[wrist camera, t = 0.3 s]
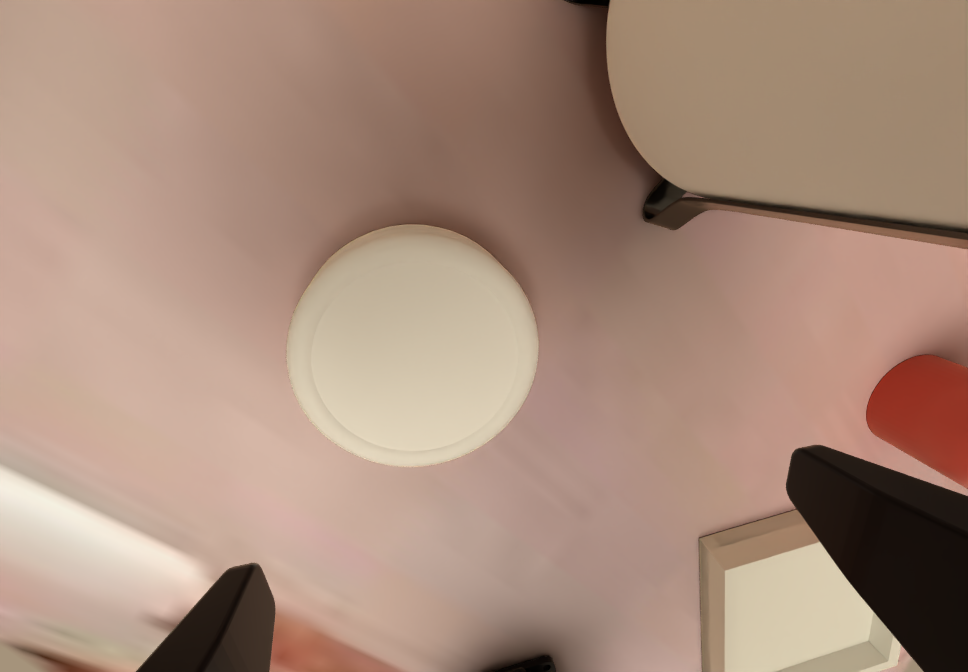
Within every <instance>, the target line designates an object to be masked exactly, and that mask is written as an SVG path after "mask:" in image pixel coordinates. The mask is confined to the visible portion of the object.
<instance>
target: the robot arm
mask: <svg viewBox="0 0 968 672" xmlns="http://www.w3.org/2000/svg"><path fill="white" fill-rule="evenodd" d="M786 490H787V494H788V496H789V498H790V500H791V502H792V503H793V504H794V506H795V507H796V509H797V510H798V512H799V513H800V514H801V516H802V517H803V519H804V520H805V521H806V523H807V524H808V526H809V527H810V529H811V530H812V531H813V533H814V534H815V536H816V537H817V538H818V540H819V541H820V543H821V544H822V546H823V547H824V548H825V550H826V551H827V553H828V554H829V555H830V557H831V558H832V560H833V561H834V563H835V564H836V565H837V567H838V568H839V569H840V571H841V572H842V574H843V575H844V576H845V578H846V579H847V580H848V582H849V583H850V584H851V585H852V587H853V588H854V589H855V590H856V592H857V593H858V594H859V595H860V596H861V598H862V599H863V600H864V601H865V602H866V604H867V605H868V606H869V607H870V608H871V610H872V611H873V612H874V613H875V614H876V615H877V617H878V618H879V619H880V620H881V621H882V623H883V624H884V625H885V626H886V627H887V629H888V630H889V631H890V632H891V633H892V635H893V636H894V637H895V638H896V639H897V640H898V642H899V643H900V644H901V645H902V646H903V648H904V649H905V650H906V651H907V652H908V654H909V655H910V656H911V657H912V658H913V660H914V661H915V662H916V663H917V664H918V665H919V667H920V668H921V669H922V670H923V671H924V672H968V496H966V495H963V494H960V493H957V492H954V491H951V490H948V489H946V488H943V487H940V486H937V485H934V484H931V483H928V482H926V481H923V480H920V479H917V478H914V477H911V476H908V475H906V474H903V473H900V472H897V471H894V470H891V469H888V468H886V467H883V466H880V465H877V464H874V463H871V462H868V461H865V460H863V459H860V458H857V457H854V456H851V455H848V454H845V453H843V452H840V451H837V450H834V449H831V448H828V447H825V446H822V445H812V446H807V447H802V448H798V449H796V450H795V451H794V452H793V453H792V456H791V461H790V466H789V471H788V477H787V482H786ZM274 622H275V601H274V598H273V595H272V592H271V590H270V588H269V585H268V583H267V580H266V578H265V575H264V573H263V570H262V568H261V567H260V565H259V564H257V563H249V564H245V565H240V566H235V567H232V568H229V569H228V570H227V571H226V572H224V573H223V575H222V576H221V577H220V578H219V579H218V580H217V581H216V582H215V584H214V585H213V586H212V587H211V588H210V589H209V590H208V591H207V592H206V594H205V595H204V596H203V597H202V598H201V599H200V600H199V601H198V603H197V604H196V605H195V606H194V607H193V608H192V609H191V610H190V611H189V613H188V614H187V615H186V616H185V617H184V618H183V619H182V620H181V622H180V623H179V624H178V625H177V626H176V627H175V628H174V629H173V631H172V632H171V633H170V634H169V635H168V636H167V637H166V638H165V639H164V641H163V642H162V643H161V644H160V645H159V646H158V647H157V648H156V650H155V651H154V652H153V653H152V654H151V655H150V656H149V657H148V658H147V660H146V661H145V662H144V663H143V664H142V665H141V666H140V667H139V669H138V670H137V671H136V672H269V670H270V661H271V651H272V641H273V632H274ZM495 672H556V670H555V665H554V662H553V659H552V657H550V656H543V657H540V658H537V659H534V660H530V661H527V662H524V663H521V664H517V665H514V666H511V667H508V668H505V669H501V670H498V671H495Z"/></svg>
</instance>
